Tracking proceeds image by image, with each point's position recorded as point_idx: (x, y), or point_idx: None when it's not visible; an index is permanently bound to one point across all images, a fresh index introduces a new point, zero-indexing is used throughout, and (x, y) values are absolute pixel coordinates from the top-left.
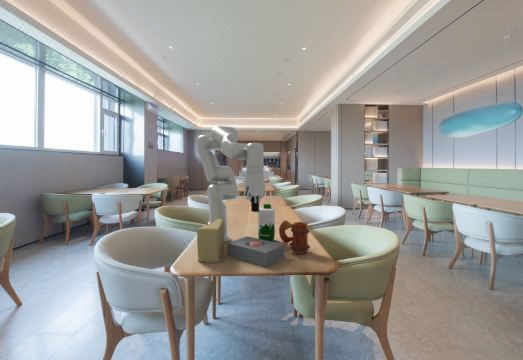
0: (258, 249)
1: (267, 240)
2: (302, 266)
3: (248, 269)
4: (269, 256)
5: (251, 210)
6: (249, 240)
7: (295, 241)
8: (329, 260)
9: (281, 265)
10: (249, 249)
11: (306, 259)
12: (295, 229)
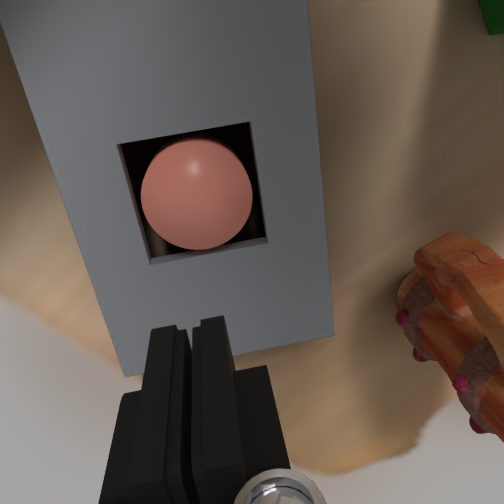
0: (127, 307)
1: (490, 3)
2: (277, 409)
3: (40, 291)
4: None
5: (152, 334)
6: (219, 85)
7: (431, 338)
8: (415, 429)
9: None
10: (83, 256)
11: (363, 371)
12: (483, 394)
